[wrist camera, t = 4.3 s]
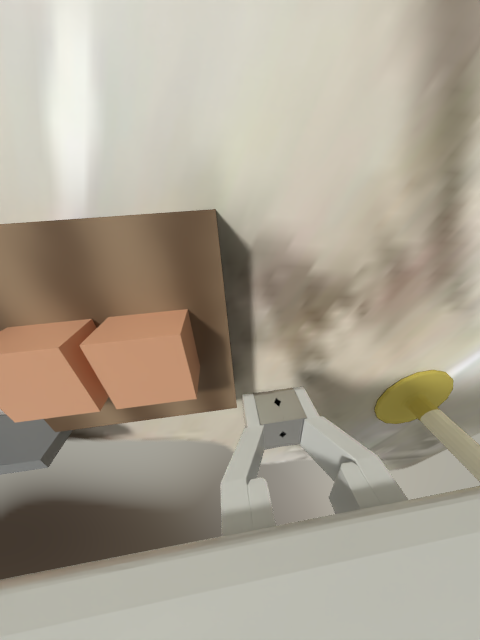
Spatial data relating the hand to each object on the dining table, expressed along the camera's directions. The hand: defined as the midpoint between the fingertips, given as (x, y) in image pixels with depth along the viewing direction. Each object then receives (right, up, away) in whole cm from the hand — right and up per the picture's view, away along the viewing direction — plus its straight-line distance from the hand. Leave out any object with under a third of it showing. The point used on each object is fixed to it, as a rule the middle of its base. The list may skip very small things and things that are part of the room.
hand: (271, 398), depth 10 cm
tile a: (-7, +2, +4) cm, 9 cm away
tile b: (-13, +1, +4) cm, 14 cm away
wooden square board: (-11, +3, +7) cm, 13 cm away
